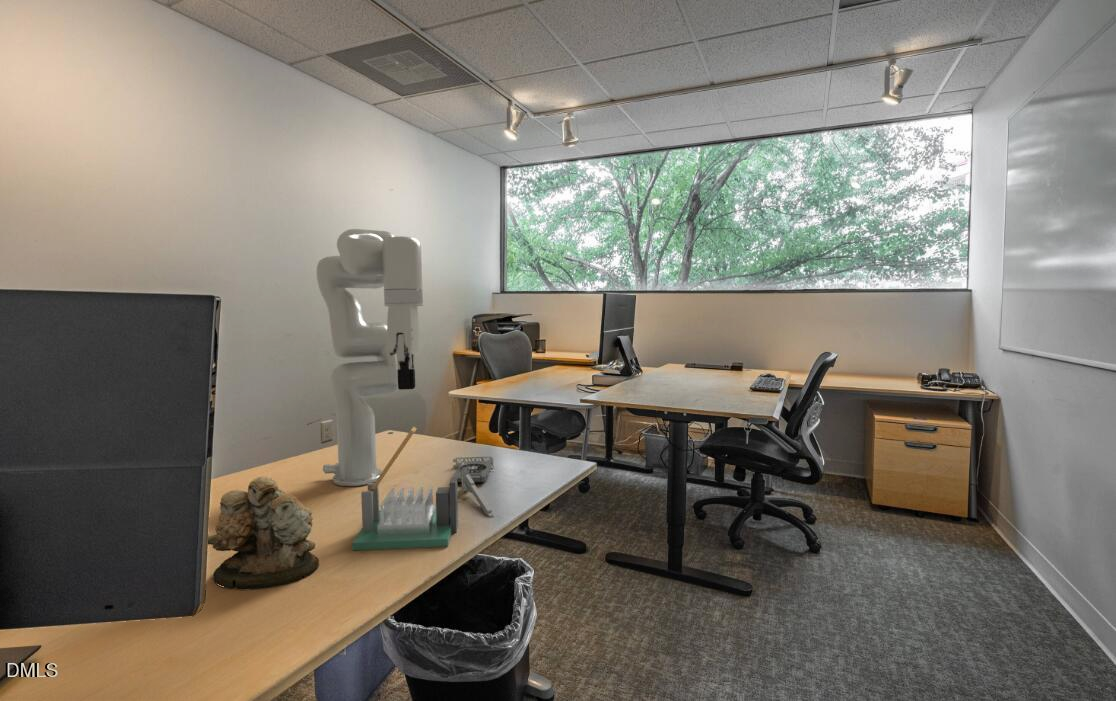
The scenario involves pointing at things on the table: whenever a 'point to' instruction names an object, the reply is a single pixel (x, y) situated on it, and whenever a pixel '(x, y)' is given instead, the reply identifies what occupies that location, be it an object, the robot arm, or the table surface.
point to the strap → (392, 459)
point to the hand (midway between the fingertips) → (406, 388)
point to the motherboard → (372, 540)
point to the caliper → (475, 491)
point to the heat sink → (407, 513)
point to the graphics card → (474, 468)
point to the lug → (447, 505)
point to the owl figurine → (263, 537)
